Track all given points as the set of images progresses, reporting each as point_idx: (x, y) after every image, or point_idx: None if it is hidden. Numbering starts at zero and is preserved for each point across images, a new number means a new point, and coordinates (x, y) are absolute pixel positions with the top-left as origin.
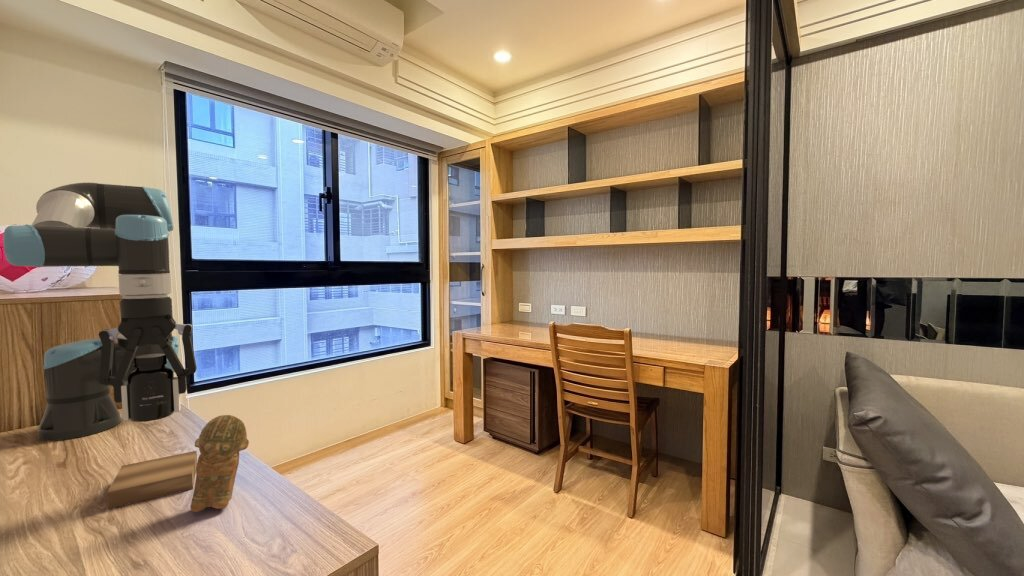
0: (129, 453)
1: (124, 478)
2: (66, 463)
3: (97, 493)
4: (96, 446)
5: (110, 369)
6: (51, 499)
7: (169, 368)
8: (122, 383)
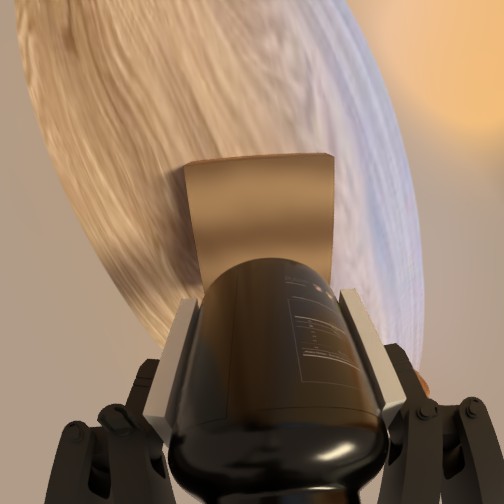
0: (165, 13)
1: (212, 246)
2: (73, 36)
3: (167, 204)
4: None
5: (84, 484)
6: (105, 193)
7: (372, 479)
8: (159, 443)
